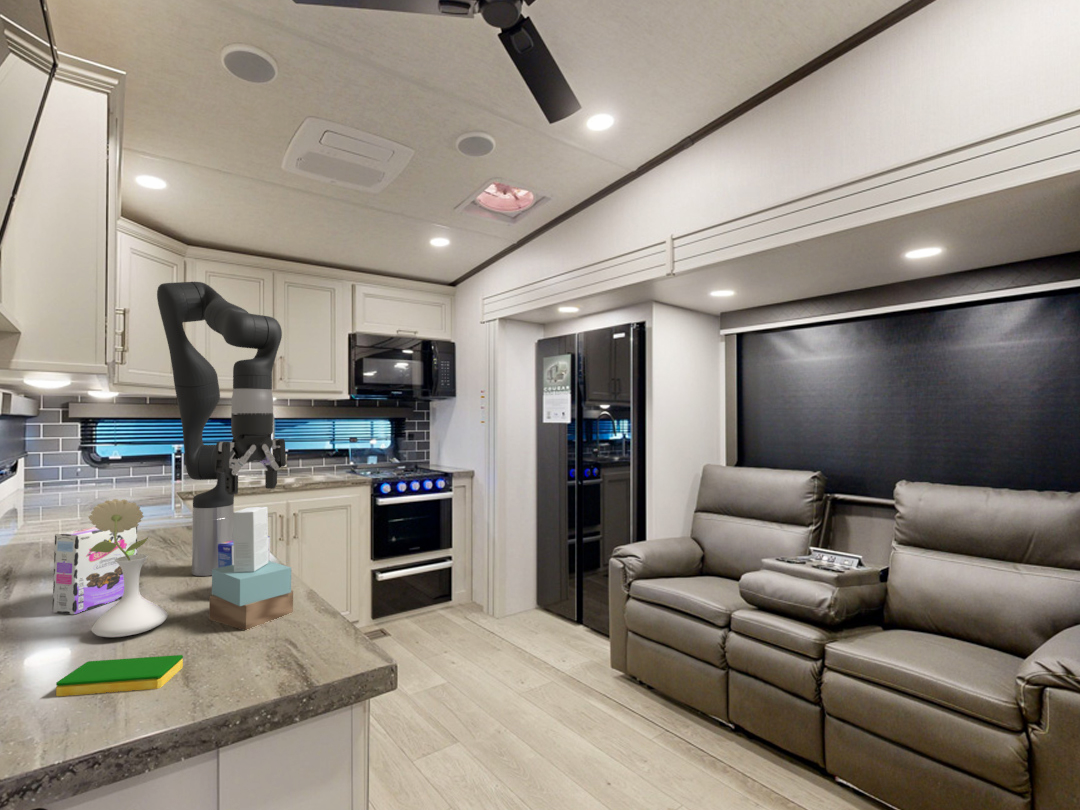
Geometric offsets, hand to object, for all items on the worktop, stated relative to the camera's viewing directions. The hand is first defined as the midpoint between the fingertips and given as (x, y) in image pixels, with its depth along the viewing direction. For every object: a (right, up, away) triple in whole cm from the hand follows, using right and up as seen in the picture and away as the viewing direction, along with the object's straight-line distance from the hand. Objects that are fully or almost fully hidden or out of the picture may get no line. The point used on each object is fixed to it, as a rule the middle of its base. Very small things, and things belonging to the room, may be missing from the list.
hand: (252, 491), depth 108 cm
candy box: (-38, -26, +8) cm, 47 cm away
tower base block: (0, -26, 0) cm, 26 cm away
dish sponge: (-5, -25, -27) cm, 37 cm away
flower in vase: (-20, -25, -8) cm, 33 cm away
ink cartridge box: (-10, -26, +15) cm, 31 cm away
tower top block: (0, -21, 0) cm, 21 cm away
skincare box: (0, -16, 0) cm, 16 cm away
